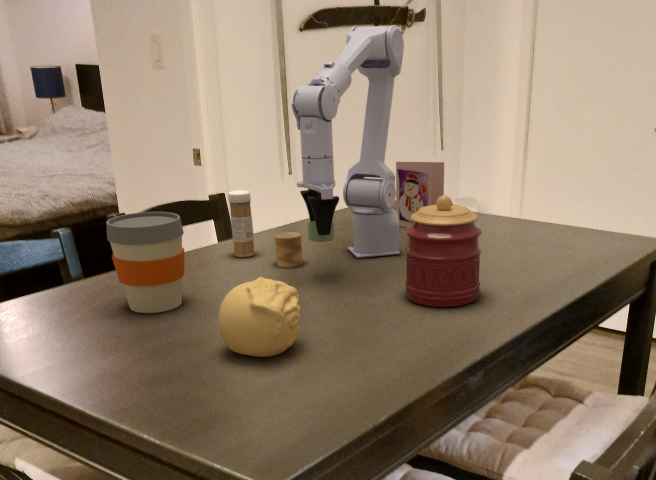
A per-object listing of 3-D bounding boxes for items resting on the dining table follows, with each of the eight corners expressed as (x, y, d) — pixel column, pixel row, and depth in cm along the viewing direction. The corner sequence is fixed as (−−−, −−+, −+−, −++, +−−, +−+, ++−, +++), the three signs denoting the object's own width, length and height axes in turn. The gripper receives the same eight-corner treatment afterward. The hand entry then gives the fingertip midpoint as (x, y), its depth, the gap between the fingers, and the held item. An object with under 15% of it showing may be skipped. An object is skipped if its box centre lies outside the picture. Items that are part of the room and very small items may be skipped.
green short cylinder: (330, 234, 146) (330, 219, 145) (336, 240, 142) (336, 224, 141) (306, 237, 145) (305, 221, 144) (311, 242, 141) (310, 226, 140)
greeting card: (393, 225, 185) (393, 162, 179) (414, 220, 190) (415, 158, 183) (428, 233, 177) (429, 167, 171) (449, 227, 182) (451, 163, 176)
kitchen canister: (449, 313, 126) (452, 206, 119) (390, 298, 134) (389, 197, 127) (493, 294, 135) (498, 193, 127) (435, 281, 143) (437, 185, 135)
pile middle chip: (293, 245, 158) (292, 230, 157) (306, 250, 154) (305, 235, 153) (271, 249, 155) (270, 234, 154) (284, 254, 151) (282, 239, 150)
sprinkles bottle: (248, 251, 166) (242, 188, 160) (259, 255, 162) (254, 191, 157) (229, 255, 163) (223, 191, 157) (240, 259, 160) (234, 194, 154)
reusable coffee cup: (103, 312, 131) (88, 225, 124) (147, 290, 141) (135, 209, 135) (164, 319, 126) (152, 230, 120) (205, 297, 137) (196, 213, 131)
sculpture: (291, 366, 107) (286, 293, 103) (210, 362, 109) (202, 290, 105) (311, 337, 118) (307, 269, 113) (236, 334, 120) (230, 267, 115)
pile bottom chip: (299, 259, 159) (299, 245, 157) (304, 266, 154) (303, 251, 153) (275, 261, 157) (274, 247, 156) (279, 268, 153) (278, 253, 152)
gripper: (288, 152, 143) (292, 224, 148) (303, 163, 130) (307, 242, 136) (325, 150, 144) (328, 221, 150) (343, 161, 132) (346, 238, 137)
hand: (321, 231), depth 143 cm, fingers closed on green short cylinder, 5 cm apart
